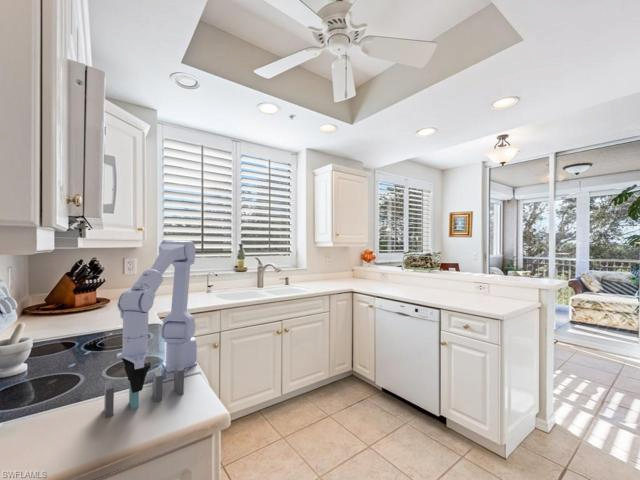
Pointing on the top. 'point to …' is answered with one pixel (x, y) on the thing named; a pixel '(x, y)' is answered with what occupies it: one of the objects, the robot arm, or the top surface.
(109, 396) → the domino
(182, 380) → the domino
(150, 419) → the top surface
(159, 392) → the domino
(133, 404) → the domino
